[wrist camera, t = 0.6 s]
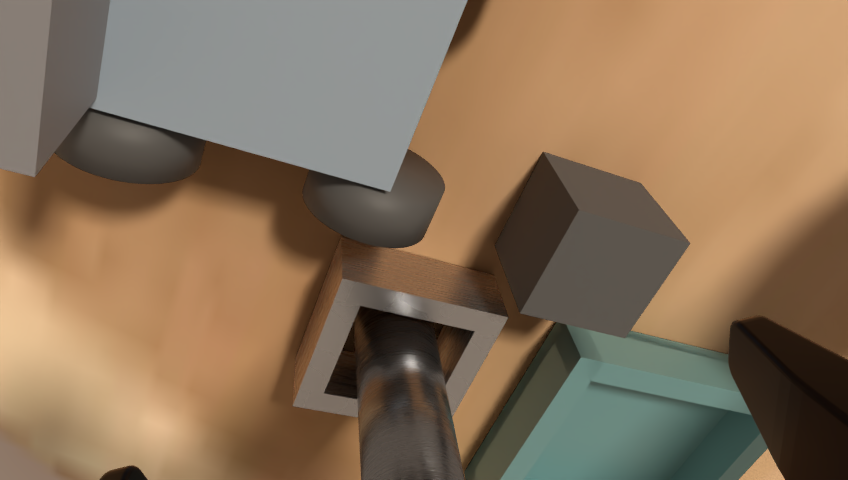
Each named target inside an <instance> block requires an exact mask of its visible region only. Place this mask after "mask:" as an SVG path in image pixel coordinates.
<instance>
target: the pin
mask: <svg viewBox="0 0 848 480" xmlns="http://www.w3.org/2000/svg"><path fill="white" fill-rule="evenodd" d="M354 342H355V362H356V382H357V403H358V423H359V443H360V463H361V480H465V479H464V474H463V469H462V464H461V459H460V454H459V449H458V444H457V439H456V434H455V429H454V424H453V420H452V415H451V410H450V405H449V400H448V395H447V390H446V385H445V380H444V375H443V370H442V365H441V360H440V355H439V350H438V345H437V340H436V335H435V330H434V325H433V322H431V321H427V320H422V319H418V318H413V317H409V316H404V315H400V314H395V313H391V312H386V311H382V310H377V309H373V308H368V307H364V306H360V308H359V310H358V313H357V315H356V317H355V320H354Z"/></svg>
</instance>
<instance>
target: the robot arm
mask: <svg viewBox="0 0 848 480" xmlns="http://www.w3.org/2000/svg"><path fill="white" fill-rule="evenodd" d="M728 364H729V369H730V372H731V375H732V377H733V379H734V381H735V383H736V385H737V387H738V389H739V391H740V393H741V395H742V397H743V399H744V401H745V403H746V405H747V407H748V409H749V411H750V413H751V415H752V417H753V419H754V421H755V423H756V425H757V427H758V429H759V431H760V433H761V435H762V437H763V439H764V441H765V443H766V445H767V447H768V449H769V451H770V453H771V455H772V457H773V459H774V461H775V463H776V465H777V467H778V469H779V470H780V472H781V473H782V475H783V477H784V478H785V480H848V360H847V359H845V358H844V357H842V356H840V355H838V354H836V353H834V352H832V351H830V350H828V349H826V348H824V347H822V346H820V345H818V344H817V343H815V342H813V341H811V340H809V339H807V338H805V337H803V336H801V335H799V334H797V333H795V332H793V331H791V330H789V329H788V328H786V327H784V326H782V325H780V324H778V323H776V322H774V321H772V320H770V319H768V318H766V317H763V316H752V317H748V318H744V319H740V320H736V321H734V322H733V323H732V325H731V327H730V338H729V353H728ZM100 480H147V478H146V477H145V476H144V474H143V473H142V472H141V470H140V469H139V468H138V467H136V466H127V467H122V468H118V469H114V470H110V471H108V472H107V473H105V474H104V475H103V476H102V477H101V478H100Z"/></svg>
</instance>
